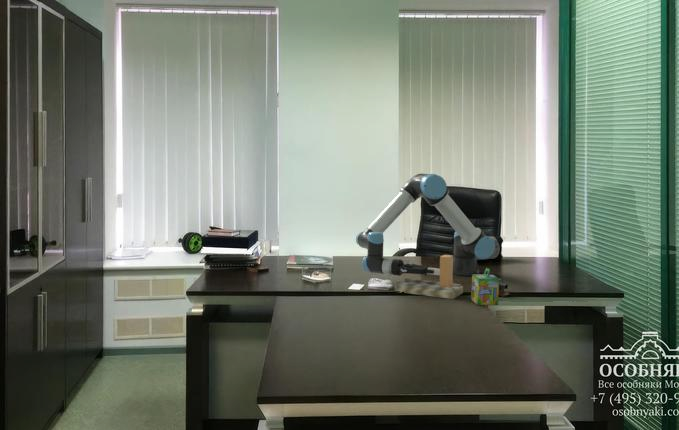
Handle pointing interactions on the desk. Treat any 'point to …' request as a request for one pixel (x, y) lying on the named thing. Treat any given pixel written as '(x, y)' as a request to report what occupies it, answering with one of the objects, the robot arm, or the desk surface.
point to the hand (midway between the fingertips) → (441, 272)
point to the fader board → (428, 288)
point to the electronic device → (502, 289)
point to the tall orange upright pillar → (446, 271)
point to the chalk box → (485, 289)
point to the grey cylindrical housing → (497, 248)
